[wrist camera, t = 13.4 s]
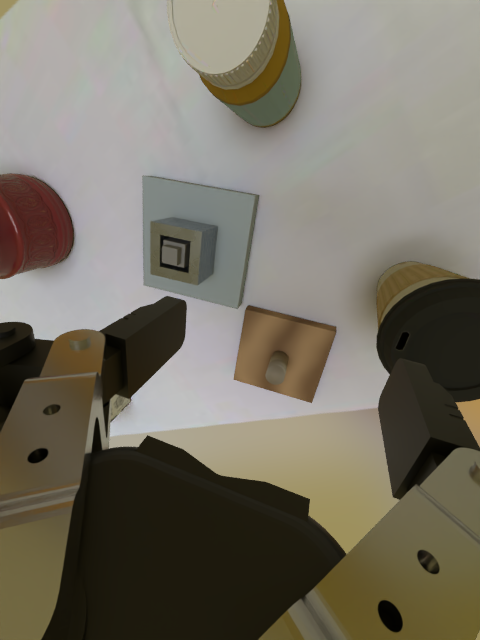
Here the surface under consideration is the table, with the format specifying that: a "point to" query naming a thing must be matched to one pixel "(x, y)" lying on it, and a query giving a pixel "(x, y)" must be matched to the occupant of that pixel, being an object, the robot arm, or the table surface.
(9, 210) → the canister
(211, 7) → the bottle
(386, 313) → the coffee cup
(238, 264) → the square plate
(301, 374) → the stand
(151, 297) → the table surface
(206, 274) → the recessed metal cube
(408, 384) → the robot arm
